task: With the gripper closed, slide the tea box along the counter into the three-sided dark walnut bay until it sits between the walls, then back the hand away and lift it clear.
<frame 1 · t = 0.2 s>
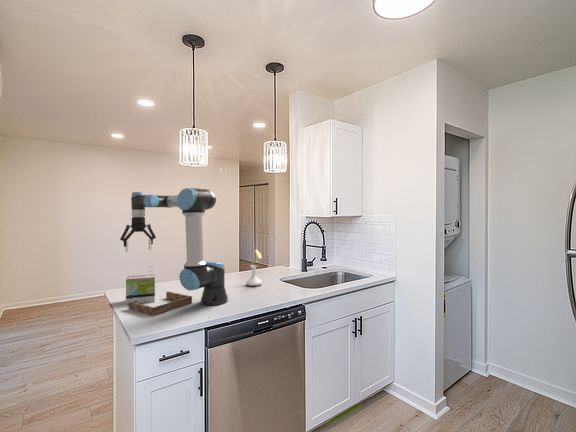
hand: (138, 250, 187), 28 cm above the countertop, tool pointing down, fingers open, 13 cm apart
flower in vase: (254, 285, 212), on the countertop
walnut bay: (159, 305, 166), on the countertop
tea box: (141, 301, 175), on the countertop
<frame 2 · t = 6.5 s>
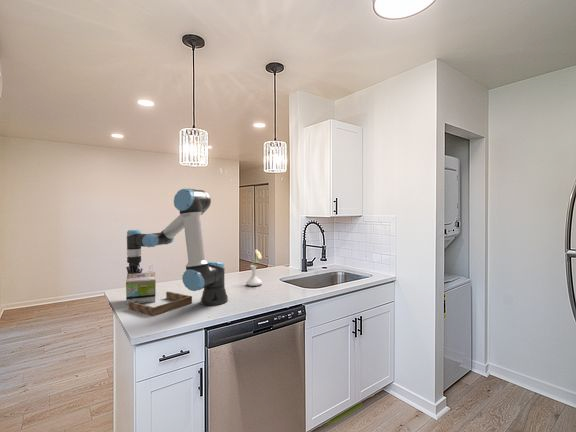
hand: (134, 295, 178), 3 cm above the countertop, tool pointing down, fingers closed
tea box: (141, 299, 174), point 1 cm above the countertop, touching gripper, hand
everything else where it was.
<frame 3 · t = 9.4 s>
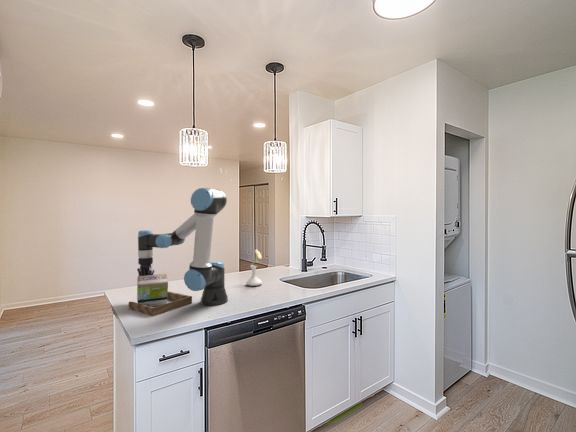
hand: (146, 297, 172), 3 cm above the countertop, tool pointing down, fingers closed
tea box: (152, 302, 168), point 1 cm above the countertop, touching gripper, hand
everything else where it was.
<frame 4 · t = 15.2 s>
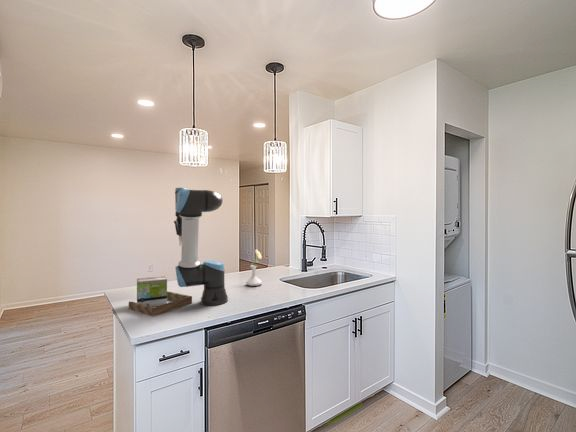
hand: (181, 245, 202), 29 cm above the countertop, tool pointing down, fingers closed
tea box: (152, 304, 169), on the countertop
everything else where it was.
at the end: tea box inside the target area on the walnut bay (6.5 cm from its centre), point 0.0 cm above the walnut bay's base; tea box tilted 0°; tea box moved 11.0 cm from its start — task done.
